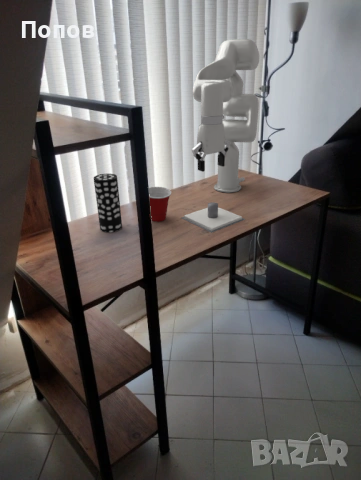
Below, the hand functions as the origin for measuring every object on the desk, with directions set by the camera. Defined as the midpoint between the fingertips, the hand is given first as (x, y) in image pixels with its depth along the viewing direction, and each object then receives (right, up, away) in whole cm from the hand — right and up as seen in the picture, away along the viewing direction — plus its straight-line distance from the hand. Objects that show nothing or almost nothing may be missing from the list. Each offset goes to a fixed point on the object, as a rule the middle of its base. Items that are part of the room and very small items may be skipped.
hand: (211, 168), depth 142 cm
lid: (+1, -18, +9) cm, 20 cm away
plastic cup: (-20, -19, +10) cm, 29 cm away
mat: (+1, -18, +9) cm, 21 cm away
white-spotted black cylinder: (-38, -22, +5) cm, 44 cm away
